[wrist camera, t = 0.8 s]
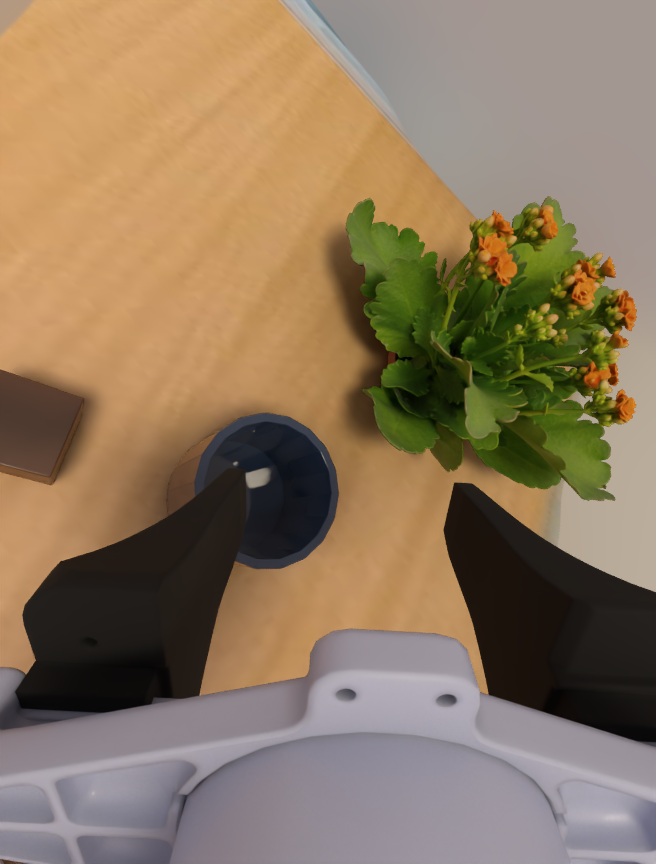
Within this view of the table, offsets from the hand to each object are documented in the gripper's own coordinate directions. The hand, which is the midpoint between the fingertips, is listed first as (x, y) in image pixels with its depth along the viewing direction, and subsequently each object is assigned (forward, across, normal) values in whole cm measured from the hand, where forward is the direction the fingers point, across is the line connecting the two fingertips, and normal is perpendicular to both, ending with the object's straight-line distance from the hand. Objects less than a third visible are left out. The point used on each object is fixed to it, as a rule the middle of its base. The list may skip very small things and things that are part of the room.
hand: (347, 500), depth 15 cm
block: (+9, +17, +3) cm, 19 cm away
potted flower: (+27, -9, +5) cm, 28 cm away
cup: (+12, +7, +8) cm, 16 cm away
